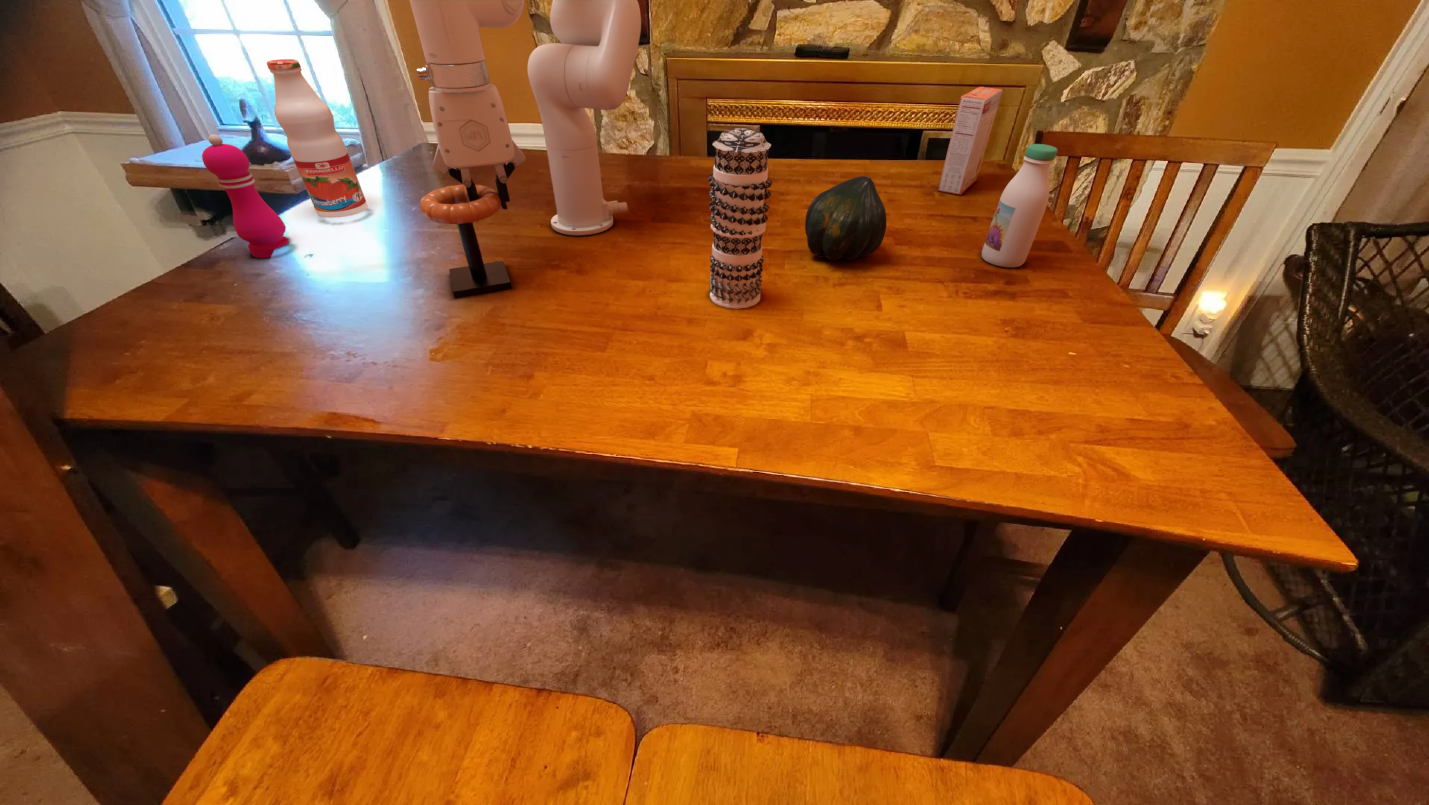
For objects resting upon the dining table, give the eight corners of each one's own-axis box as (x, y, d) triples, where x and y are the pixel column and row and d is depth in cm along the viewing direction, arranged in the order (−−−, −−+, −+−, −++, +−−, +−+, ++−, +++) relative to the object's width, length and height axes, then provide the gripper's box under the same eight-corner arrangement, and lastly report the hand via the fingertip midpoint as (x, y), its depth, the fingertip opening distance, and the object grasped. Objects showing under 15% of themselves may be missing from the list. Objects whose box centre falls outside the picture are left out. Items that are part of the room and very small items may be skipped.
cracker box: (953, 177, 144) (978, 85, 131) (976, 181, 141) (1005, 88, 128) (935, 191, 135) (960, 94, 122) (960, 196, 132) (988, 97, 119)
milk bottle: (1024, 255, 106) (1068, 144, 93) (1023, 272, 100) (1069, 155, 88) (981, 248, 108) (1018, 138, 96) (978, 263, 103) (1017, 149, 90)
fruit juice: (371, 205, 121) (315, 56, 104) (369, 220, 114) (308, 63, 97) (322, 210, 118) (256, 58, 101) (317, 226, 112) (245, 65, 94)
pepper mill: (273, 261, 99) (211, 141, 86) (239, 257, 100) (172, 138, 87) (304, 245, 104) (250, 130, 92) (271, 241, 106) (213, 127, 93)
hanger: (504, 266, 99) (486, 191, 90) (511, 288, 92) (493, 209, 84) (450, 275, 96) (427, 198, 88) (454, 298, 89) (429, 217, 81)
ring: (497, 195, 93) (493, 178, 91) (507, 220, 85) (502, 201, 83) (422, 205, 89) (416, 187, 87) (425, 231, 81) (418, 212, 79)
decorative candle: (723, 315, 87) (729, 144, 71) (697, 289, 93) (697, 128, 77) (773, 302, 90) (789, 137, 74) (745, 279, 96) (753, 122, 81)
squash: (777, 221, 103) (833, 169, 91) (822, 205, 112) (878, 156, 100) (816, 286, 103) (877, 243, 91) (858, 265, 112) (918, 223, 100)
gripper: (394, 84, 71) (437, 223, 83) (524, 77, 76) (548, 209, 88) (394, 74, 76) (435, 207, 88) (516, 68, 82) (539, 194, 93)
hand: (491, 207), depth 88 cm, fingers closed on ring, 3 cm apart
